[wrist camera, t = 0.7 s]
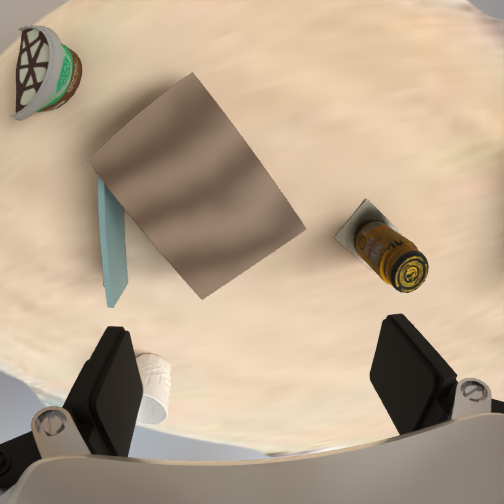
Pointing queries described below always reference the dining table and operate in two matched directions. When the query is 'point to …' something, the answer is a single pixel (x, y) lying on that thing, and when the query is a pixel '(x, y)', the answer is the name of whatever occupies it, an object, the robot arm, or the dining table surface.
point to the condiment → (383, 249)
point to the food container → (44, 72)
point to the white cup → (154, 389)
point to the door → (112, 244)
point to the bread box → (196, 188)
